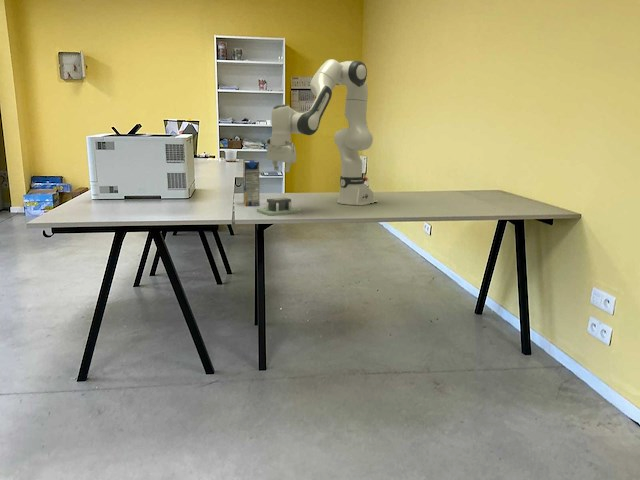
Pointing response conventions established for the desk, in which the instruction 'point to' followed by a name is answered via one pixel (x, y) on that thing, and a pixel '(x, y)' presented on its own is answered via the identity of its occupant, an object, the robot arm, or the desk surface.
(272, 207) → the block
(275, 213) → the green peg board
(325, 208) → the desk surface
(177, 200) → the desk surface
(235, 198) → the desk surface
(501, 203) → the desk surface
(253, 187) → the beverage box
